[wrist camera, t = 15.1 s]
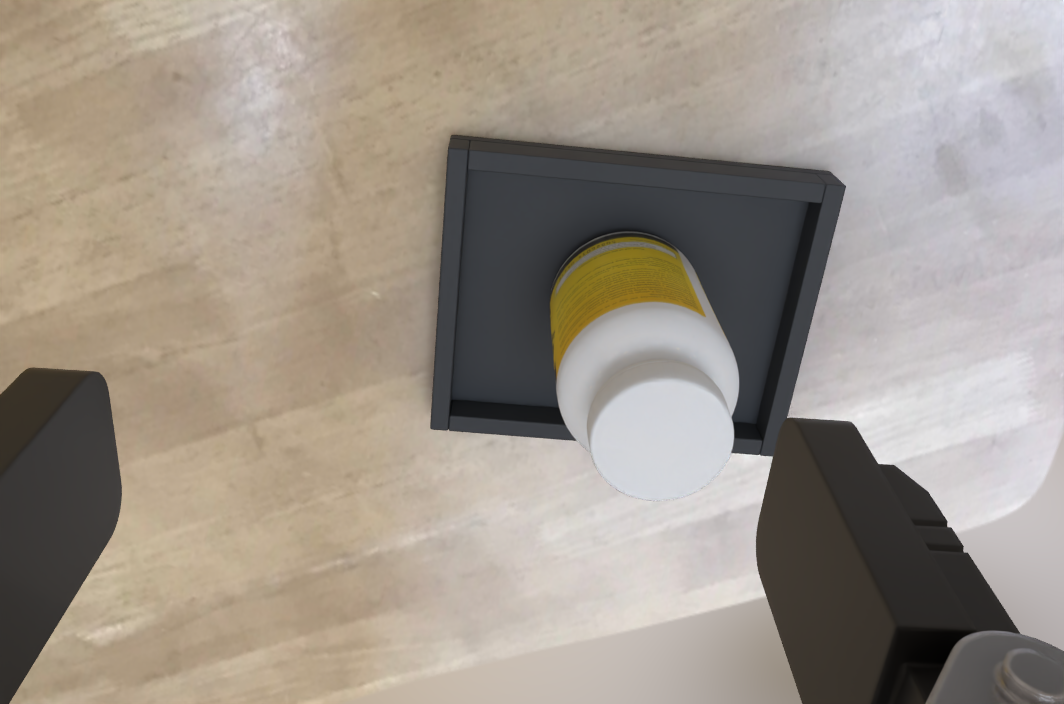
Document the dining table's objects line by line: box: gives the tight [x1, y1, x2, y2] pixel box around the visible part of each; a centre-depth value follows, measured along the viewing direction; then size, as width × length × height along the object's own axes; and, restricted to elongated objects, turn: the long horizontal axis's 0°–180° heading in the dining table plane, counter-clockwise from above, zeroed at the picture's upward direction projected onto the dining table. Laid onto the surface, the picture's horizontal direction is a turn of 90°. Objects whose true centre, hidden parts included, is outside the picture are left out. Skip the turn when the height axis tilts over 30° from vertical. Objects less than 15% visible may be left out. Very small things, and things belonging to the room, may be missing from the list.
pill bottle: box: [550, 231, 739, 501], centre depth 36 cm, size 6×6×12 cm
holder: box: [430, 135, 846, 456], centre depth 41 cm, size 16×13×2 cm
